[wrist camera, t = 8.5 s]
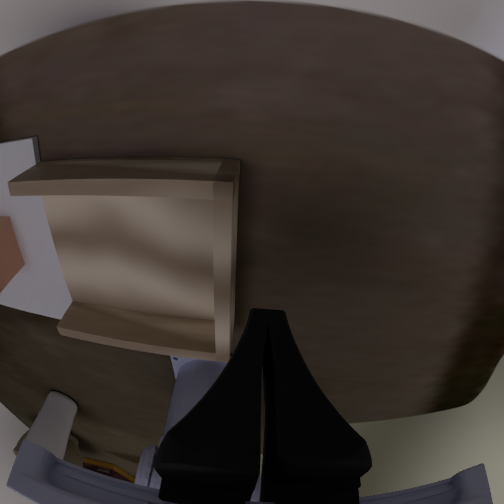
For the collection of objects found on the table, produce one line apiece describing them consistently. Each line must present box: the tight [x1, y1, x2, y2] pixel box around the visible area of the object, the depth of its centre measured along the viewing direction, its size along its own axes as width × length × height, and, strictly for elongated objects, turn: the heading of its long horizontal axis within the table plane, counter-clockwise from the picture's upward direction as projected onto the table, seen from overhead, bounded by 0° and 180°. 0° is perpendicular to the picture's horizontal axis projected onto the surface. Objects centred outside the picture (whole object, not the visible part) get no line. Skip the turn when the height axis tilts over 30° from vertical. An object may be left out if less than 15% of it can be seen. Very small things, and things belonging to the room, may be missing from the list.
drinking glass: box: [25, 391, 78, 460], centre depth 33 cm, size 7×7×15 cm
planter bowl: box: [13, 431, 83, 468], centre depth 46 cm, size 16×16×11 cm
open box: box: [7, 157, 240, 362], centre depth 21 cm, size 14×15×4 cm
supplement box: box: [83, 458, 135, 484], centre depth 56 cm, size 10×15×16 cm
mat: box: [0, 136, 72, 319], centre depth 22 cm, size 18×14×1 cm
